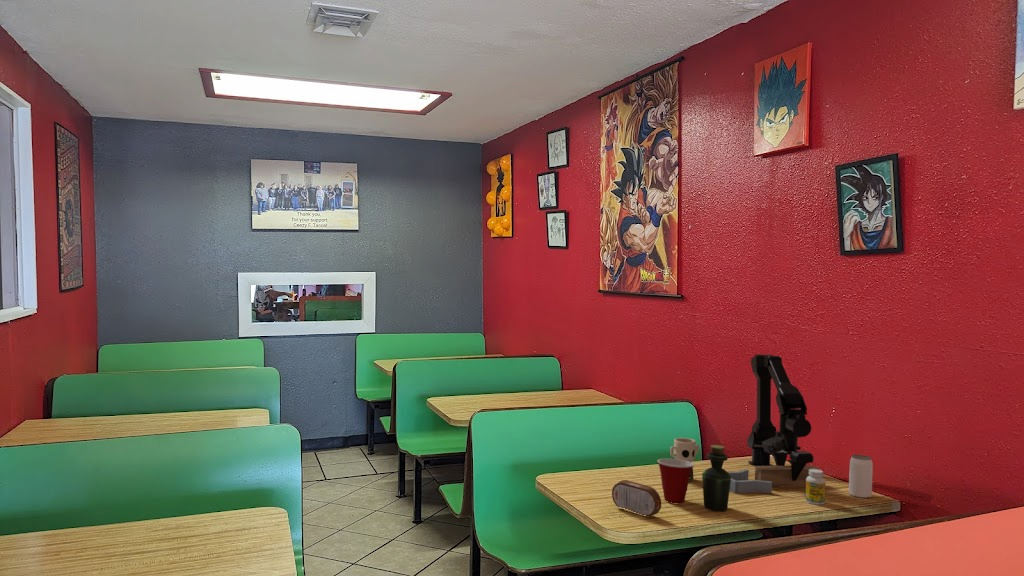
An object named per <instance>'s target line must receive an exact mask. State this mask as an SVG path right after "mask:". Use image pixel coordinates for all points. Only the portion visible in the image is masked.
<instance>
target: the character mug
mask: <svg viewBox="0 0 1024 576" xmlns="http://www.w3.org/2000/svg"><path fill="white" fill-rule="evenodd" d="M696 443H697V442H696V440H695V439H693V438H689V437H677V438H676V437H675V438H674V440H673V446H670V450H669V451H670V452H669V453H670V454H669V455H670V457H673V459H678V460H684V461H689V462H694V461H695V460H696V458H697V455H699V452H700V450H699V449H700V448H699V444H696ZM691 480H694V467H693V468H692V470H691V474H690V478H689V481H691Z"/></svg>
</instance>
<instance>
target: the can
mask: <svg viewBox="0 0 1024 576" xmlns="http://www.w3.org/2000/svg"><path fill="white" fill-rule="evenodd" d="M873 466H874V464H873V461H872V457H870V456H867V455H863V454H851V458H850V461H849V473H848V475H849V476H848V493H849V495H850V496H853V497H855V498H860V499H868V498H867V497H870V498H871V497H872V495H873V494H872V493H873V472H874V467H873Z"/></svg>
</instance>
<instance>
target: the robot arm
mask: <svg viewBox="0 0 1024 576" xmlns="http://www.w3.org/2000/svg"><path fill="white" fill-rule="evenodd" d="M750 366H751V371H752V373H753V375H754V377H755V378H756V420H755V421H754V423H753V424H752V426H751V432H750V434H749V435H748V437H747V439H746V444H747V447H748V448H750V449H751V451H752V452H751V453H752V454H751V460H748V461H747V462H748V464H750V465H752V466H754V467H755V466H774V464H771V456H772V457H773V459H774V462H775V466H786V462H788V463H789V464H790V466H791V471H792V480H793V481H796V480H797V478H798V476H799V474H800V473H801V471H802V469H803V468H804V467H805V466H807V464H809V463H814V460H815V459H814V457H815V456H814V455H813V454H812V453H811V452H809V451H806V450H801V448H802V447H801V446H800V445H798V444H799V438H804V437H807V436H808V435H810V433H811V431H812V425H811V423H810V421H808V419H806V416H807V415H808V407H807V405H806V402H805V398H804V396H803V395H802V393H801V392H800V390H799V389H798V387H797V386H795V385H793V384H792V383H791V380H790V378H789V376H788V374H787V371H786V369H785V367H784V365H783V360H782V357H781V356H779V355H773V354H757V353H756V354H754V355H753V356H752V357H751V358H750ZM772 381H773V383H774V386H775V388H776V391H777V392H776V395H775V400H776V401H775V402H776V405H777V407H778V413H779V427H778V428H779V429H778V431H777V427H776V426H775V425H774V423H772V420H771V418H772V414H771V412H772ZM788 455H789V459H787V458H788Z"/></svg>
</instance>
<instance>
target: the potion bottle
mask: <svg viewBox="0 0 1024 576" xmlns="http://www.w3.org/2000/svg"><path fill="white" fill-rule="evenodd" d="M724 450H725V446H723V445H721V444H720V445H719V444H711V445H710V451H711V452H707V455H706V459H708V460H710V465H711V467H708V468H707V469H705V470H703V472H702V474H701V477H702V493H703V494H702V497H703V506H704V508H705V509H706V510H708V511H711V512H717V511H718V512H719V513H720V512H726V511H727V510H728V505H729V497H730V492H731V491H730V483H731V476H730V474H729V473H728V472H729V471H727V470H726V469H724V468H723V466H724V465H723V464H724V462H726V461H727V460H728V456H727V454H725V453H724Z"/></svg>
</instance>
